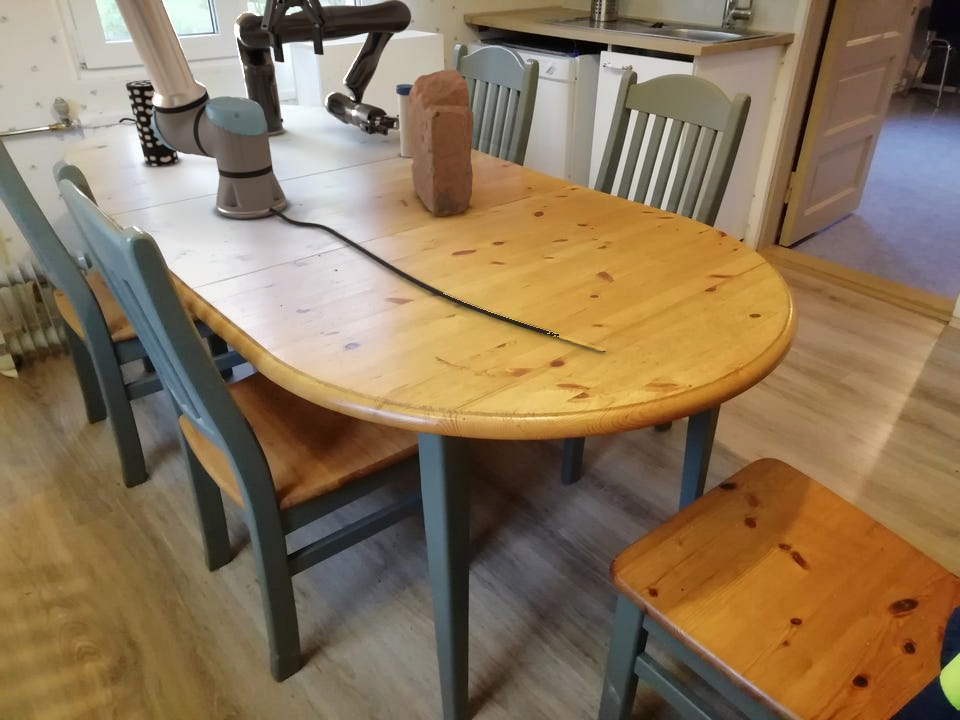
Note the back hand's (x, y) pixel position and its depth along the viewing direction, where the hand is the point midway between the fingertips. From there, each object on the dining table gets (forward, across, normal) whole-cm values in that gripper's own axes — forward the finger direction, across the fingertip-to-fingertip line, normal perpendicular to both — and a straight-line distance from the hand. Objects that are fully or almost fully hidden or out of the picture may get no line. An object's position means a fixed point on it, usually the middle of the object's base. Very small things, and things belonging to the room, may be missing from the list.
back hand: (399, 129), depth 194 cm
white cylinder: (+4, 0, +6) cm, 8 cm away
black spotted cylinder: (-30, -57, -4) cm, 65 cm away
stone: (+40, -15, +6) cm, 44 cm away
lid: (+4, 0, -12) cm, 13 cm away
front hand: (-11, -23, -19) cm, 32 cm away
